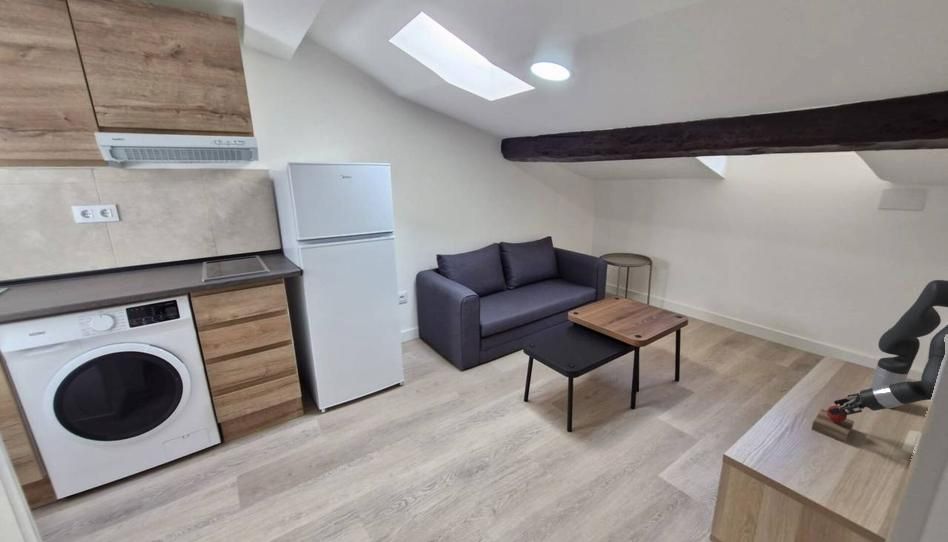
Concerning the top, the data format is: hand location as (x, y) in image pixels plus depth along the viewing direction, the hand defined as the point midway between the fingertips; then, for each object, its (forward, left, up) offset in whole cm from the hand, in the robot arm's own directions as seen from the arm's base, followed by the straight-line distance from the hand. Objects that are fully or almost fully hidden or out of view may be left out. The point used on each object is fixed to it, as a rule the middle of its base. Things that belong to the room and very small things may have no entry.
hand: (832, 407), depth 151 cm
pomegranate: (0, +2, -6) cm, 6 cm away
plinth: (0, +1, -10) cm, 10 cm away
